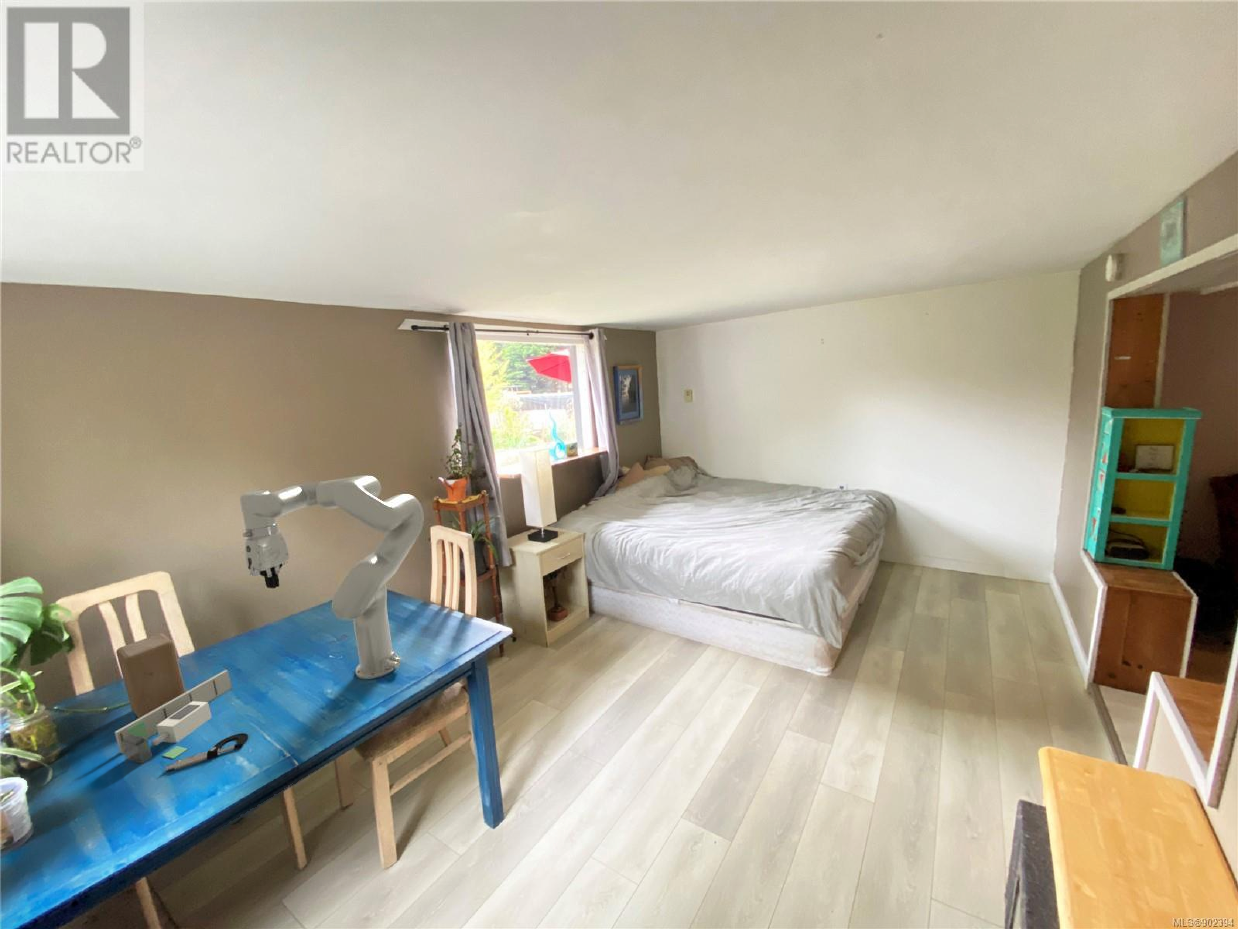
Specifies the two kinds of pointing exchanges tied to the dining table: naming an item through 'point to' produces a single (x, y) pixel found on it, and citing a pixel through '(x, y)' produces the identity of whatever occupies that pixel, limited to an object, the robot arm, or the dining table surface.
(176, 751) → the green flat block
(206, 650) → the dining table surface
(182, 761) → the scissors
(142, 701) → the wooden block
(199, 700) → the scale board
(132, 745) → the grey faceted block
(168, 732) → the white slotted box
